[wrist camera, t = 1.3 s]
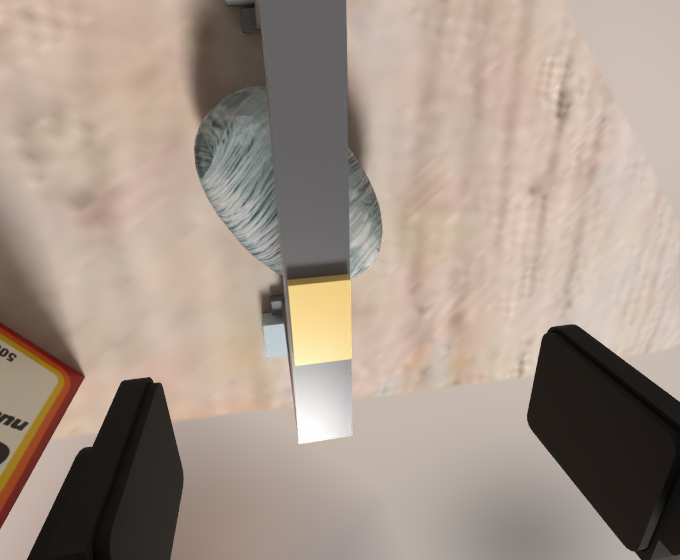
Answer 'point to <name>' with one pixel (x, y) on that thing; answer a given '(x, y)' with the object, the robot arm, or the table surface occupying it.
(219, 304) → the table surface
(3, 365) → the baking soda box
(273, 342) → the pale blue block pair
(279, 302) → the gray arch frame
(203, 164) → the gray yarn ball
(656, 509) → the robot arm
